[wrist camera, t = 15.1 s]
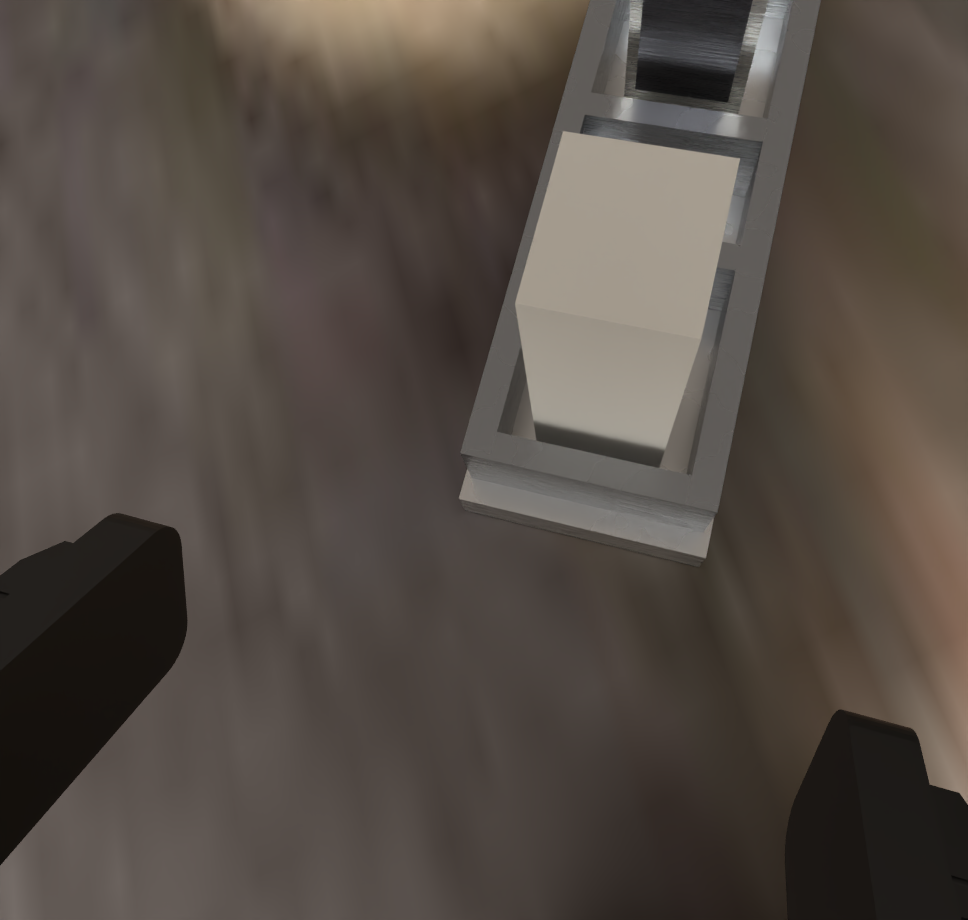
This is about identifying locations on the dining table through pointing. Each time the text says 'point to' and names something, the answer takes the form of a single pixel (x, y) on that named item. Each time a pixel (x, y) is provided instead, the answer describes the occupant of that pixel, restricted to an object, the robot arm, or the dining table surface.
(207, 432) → the dining table surface
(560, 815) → the dining table surface
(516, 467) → the gray compartment block tray
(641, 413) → the tall off-white block
